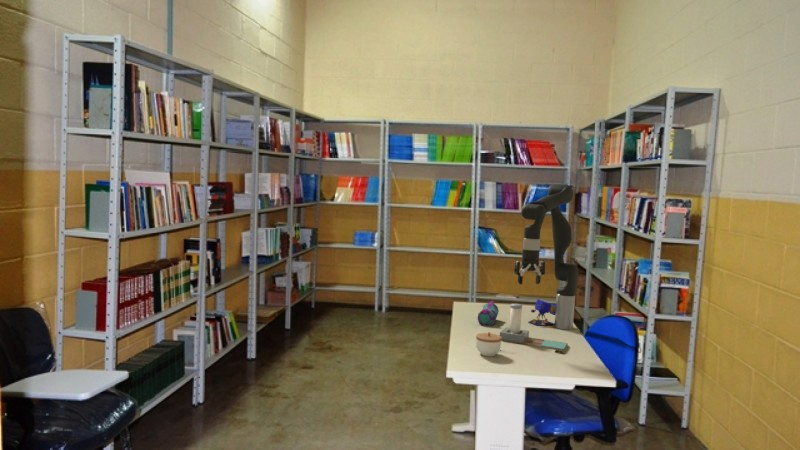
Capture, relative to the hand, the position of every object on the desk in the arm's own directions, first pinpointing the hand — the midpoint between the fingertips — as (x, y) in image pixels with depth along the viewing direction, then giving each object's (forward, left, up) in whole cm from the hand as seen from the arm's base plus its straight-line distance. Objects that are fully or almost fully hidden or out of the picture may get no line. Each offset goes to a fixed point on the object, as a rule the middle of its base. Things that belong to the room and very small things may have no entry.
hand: (528, 284), depth 258 cm
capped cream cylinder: (-1, -5, -26) cm, 27 cm away
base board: (-1, +3, -28) cm, 28 cm away
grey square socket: (-1, -5, -26) cm, 27 cm away
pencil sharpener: (-44, +1, -28) cm, 52 cm away
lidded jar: (+25, -10, -28) cm, 39 cm away
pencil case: (-28, -25, -28) cm, 47 cm away
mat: (-1, +13, -26) cm, 29 cm away
